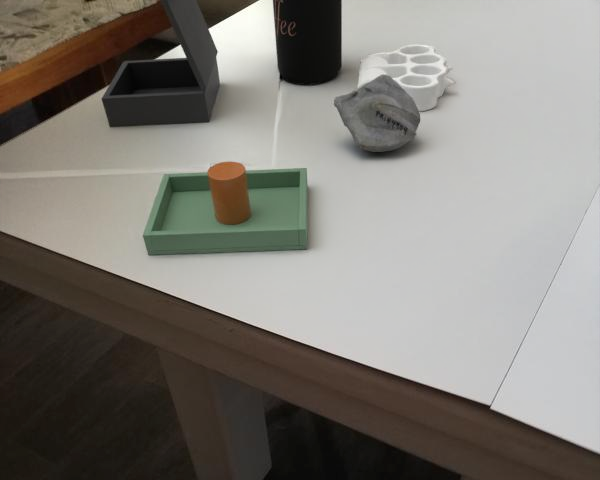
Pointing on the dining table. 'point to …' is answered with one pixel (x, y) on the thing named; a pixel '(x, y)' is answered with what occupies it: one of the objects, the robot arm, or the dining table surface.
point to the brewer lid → (193, 37)
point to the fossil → (379, 115)
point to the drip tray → (221, 237)
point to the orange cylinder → (229, 192)
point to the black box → (159, 94)
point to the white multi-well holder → (410, 72)
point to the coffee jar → (308, 39)
